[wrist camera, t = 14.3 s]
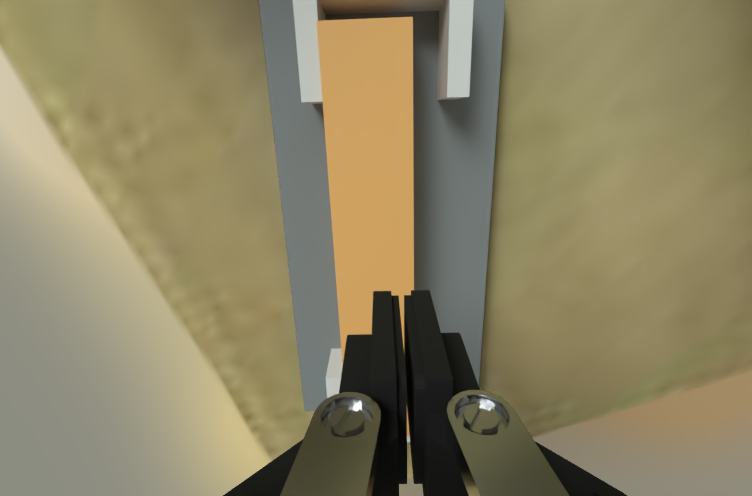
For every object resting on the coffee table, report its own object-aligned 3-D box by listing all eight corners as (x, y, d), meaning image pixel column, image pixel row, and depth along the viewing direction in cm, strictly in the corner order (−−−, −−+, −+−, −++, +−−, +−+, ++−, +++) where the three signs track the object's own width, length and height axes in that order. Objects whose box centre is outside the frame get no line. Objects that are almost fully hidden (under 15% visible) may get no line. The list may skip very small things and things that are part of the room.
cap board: (266, 4, 20) (236, -26, 16) (496, -5, 20) (529, -37, 16) (308, 396, 28) (296, 445, 24) (472, 392, 28) (489, 442, 24)
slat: (326, 36, 19) (316, 20, 16) (406, 33, 19) (413, 16, 16) (351, 396, 26) (347, 436, 23) (409, 395, 26) (414, 435, 23)
